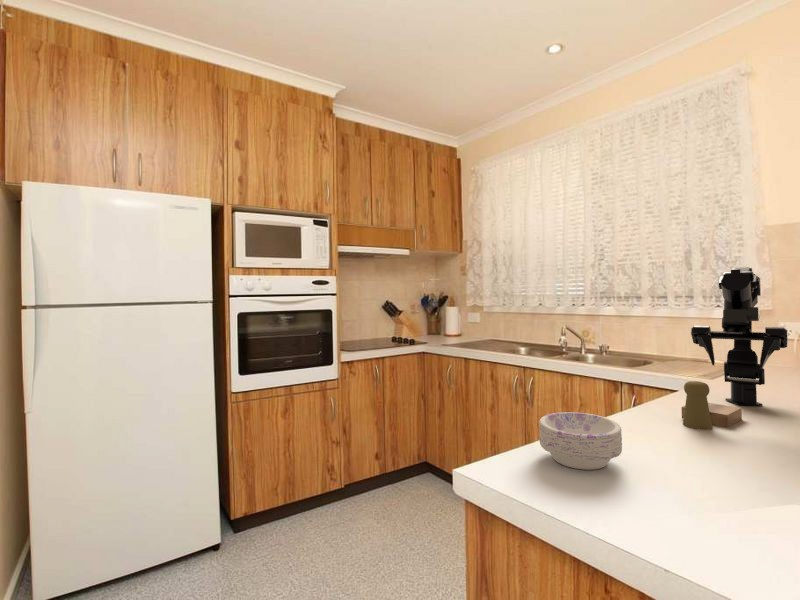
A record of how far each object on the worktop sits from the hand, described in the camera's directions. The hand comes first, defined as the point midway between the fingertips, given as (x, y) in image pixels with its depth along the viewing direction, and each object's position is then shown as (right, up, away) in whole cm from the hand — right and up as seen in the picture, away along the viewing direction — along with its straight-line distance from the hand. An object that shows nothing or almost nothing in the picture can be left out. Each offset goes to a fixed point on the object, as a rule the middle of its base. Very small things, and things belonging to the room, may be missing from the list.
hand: (736, 366), depth 102 cm
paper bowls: (-46, -16, -18) cm, 53 cm away
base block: (-1, -15, +7) cm, 16 cm away
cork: (-9, -15, +1) cm, 18 cm away
